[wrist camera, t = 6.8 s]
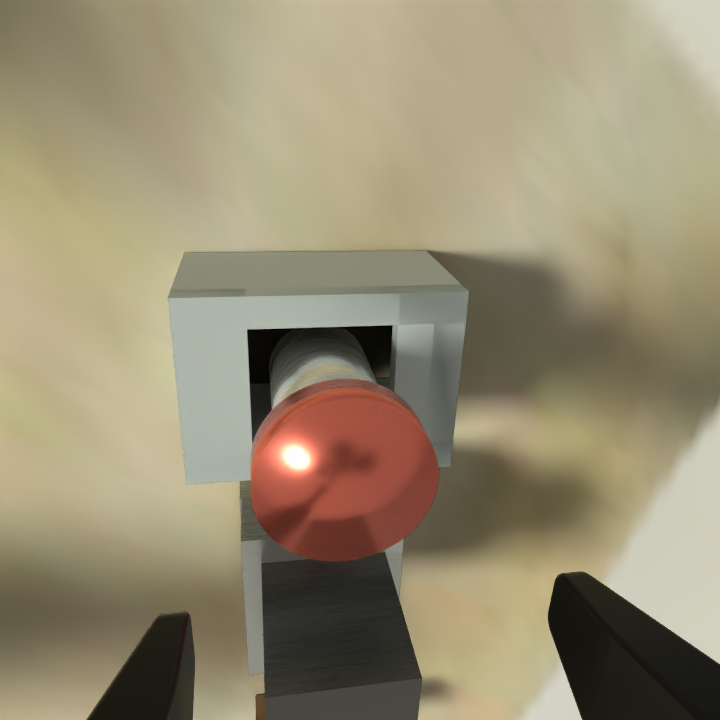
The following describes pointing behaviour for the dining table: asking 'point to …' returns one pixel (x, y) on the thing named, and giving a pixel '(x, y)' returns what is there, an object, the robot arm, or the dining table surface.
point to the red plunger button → (337, 453)
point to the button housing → (306, 310)
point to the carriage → (326, 631)
